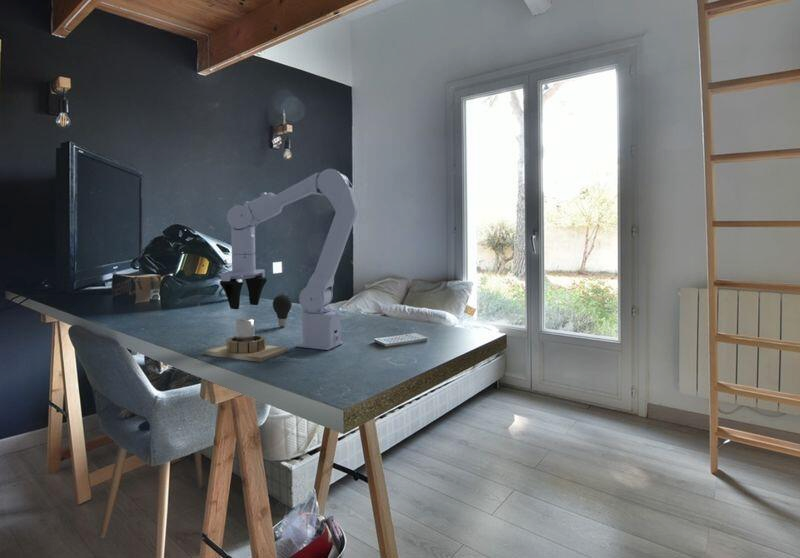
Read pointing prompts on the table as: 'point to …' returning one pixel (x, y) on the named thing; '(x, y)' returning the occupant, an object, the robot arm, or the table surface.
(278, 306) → the light bulb
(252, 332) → the bayonet cap
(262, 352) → the socket base
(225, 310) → the table surface
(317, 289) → the robot arm
